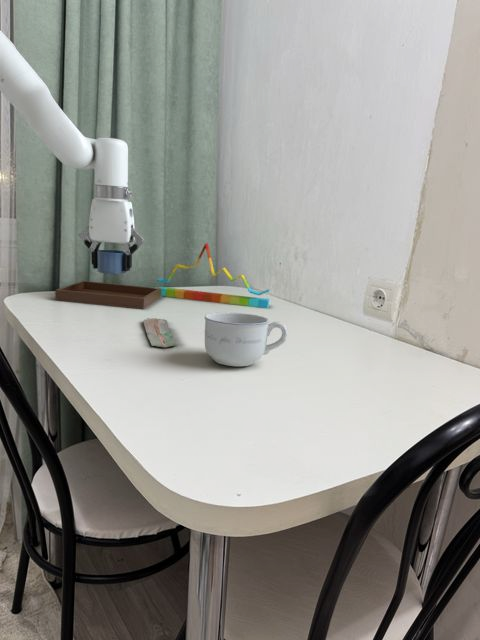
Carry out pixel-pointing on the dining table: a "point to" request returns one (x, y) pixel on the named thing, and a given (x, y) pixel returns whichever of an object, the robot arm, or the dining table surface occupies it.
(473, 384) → the dining table surface
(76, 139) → the robot arm
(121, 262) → the blue short cylinder
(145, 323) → the map
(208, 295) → the chart
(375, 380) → the dining table surface
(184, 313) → the dining table surface
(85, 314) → the dining table surface
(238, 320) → the teacup
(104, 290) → the tray
